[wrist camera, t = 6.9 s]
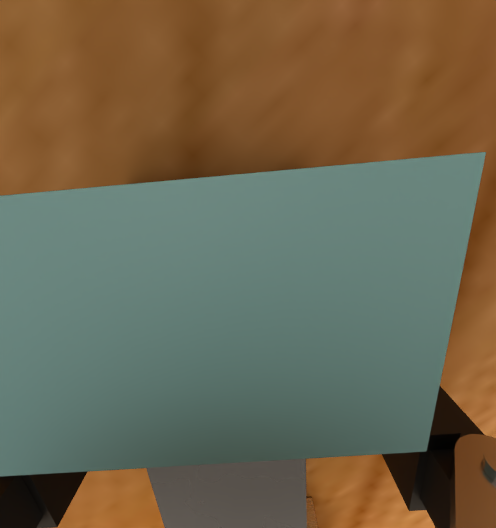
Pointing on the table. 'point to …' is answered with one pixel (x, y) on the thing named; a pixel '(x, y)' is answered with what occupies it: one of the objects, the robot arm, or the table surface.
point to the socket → (230, 315)
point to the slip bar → (232, 494)
